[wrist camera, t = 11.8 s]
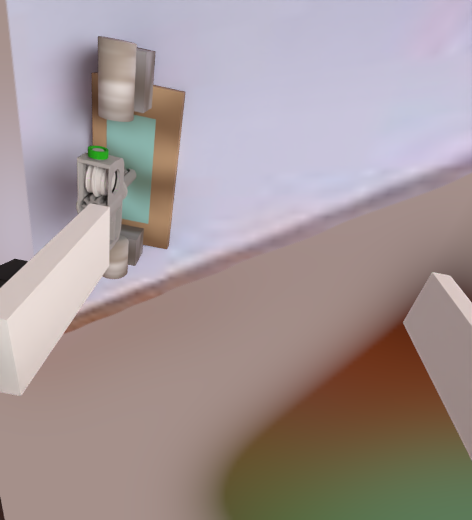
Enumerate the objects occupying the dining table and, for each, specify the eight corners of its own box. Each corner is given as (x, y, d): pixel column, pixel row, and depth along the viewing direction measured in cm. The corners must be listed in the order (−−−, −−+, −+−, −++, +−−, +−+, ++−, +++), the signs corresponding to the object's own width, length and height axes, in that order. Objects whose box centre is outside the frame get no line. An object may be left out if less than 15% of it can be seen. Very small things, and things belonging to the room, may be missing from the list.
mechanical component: (114, 212, 42) (77, 255, 34) (117, 123, 37) (74, 147, 29) (139, 218, 43) (108, 262, 34) (146, 129, 37) (111, 156, 29)
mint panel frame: (95, 31, 34) (59, 28, 28) (189, 52, 34) (174, 54, 28) (97, 241, 46) (72, 271, 40) (167, 255, 46) (153, 287, 40)
